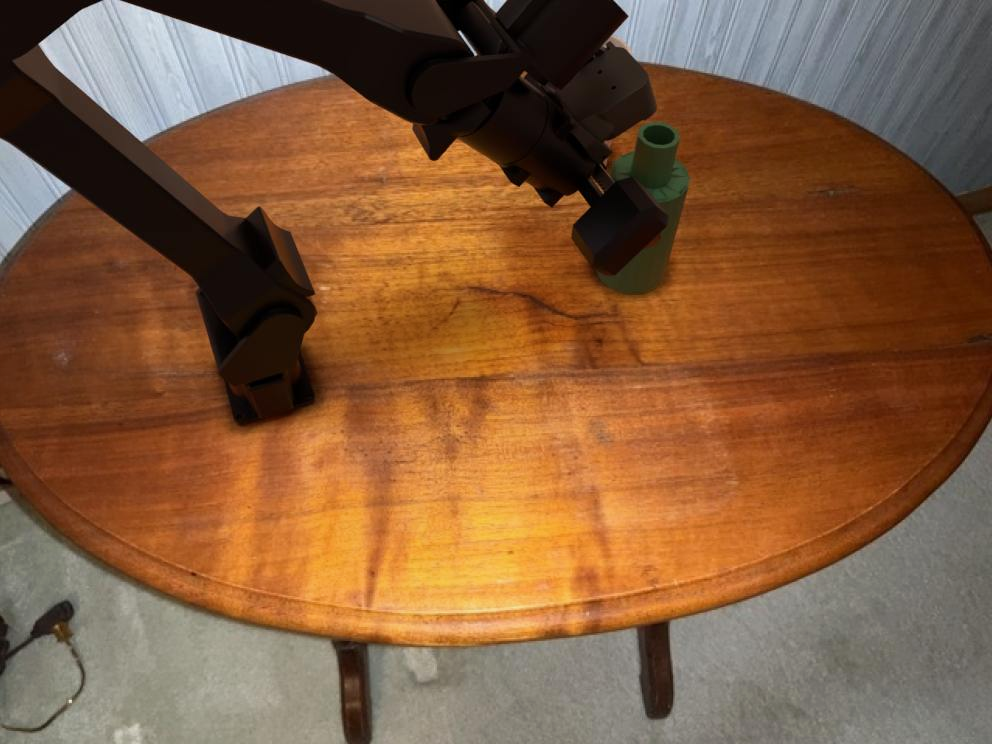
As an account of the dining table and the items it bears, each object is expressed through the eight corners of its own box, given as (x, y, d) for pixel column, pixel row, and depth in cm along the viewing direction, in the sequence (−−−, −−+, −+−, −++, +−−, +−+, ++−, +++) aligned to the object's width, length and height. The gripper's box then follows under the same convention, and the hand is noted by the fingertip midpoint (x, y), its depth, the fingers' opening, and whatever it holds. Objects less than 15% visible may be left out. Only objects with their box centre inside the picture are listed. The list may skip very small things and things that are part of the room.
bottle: (582, 273, 75) (602, 139, 63) (617, 234, 78) (643, 99, 66) (642, 305, 73) (675, 172, 61) (676, 263, 76) (714, 129, 64)
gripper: (671, 113, 49) (769, 206, 61) (536, -35, 59) (643, 69, 71) (542, 244, 53) (658, 307, 65) (437, 85, 63) (553, 165, 75)
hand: (628, 205), depth 69 cm, fingers open, 9 cm apart
